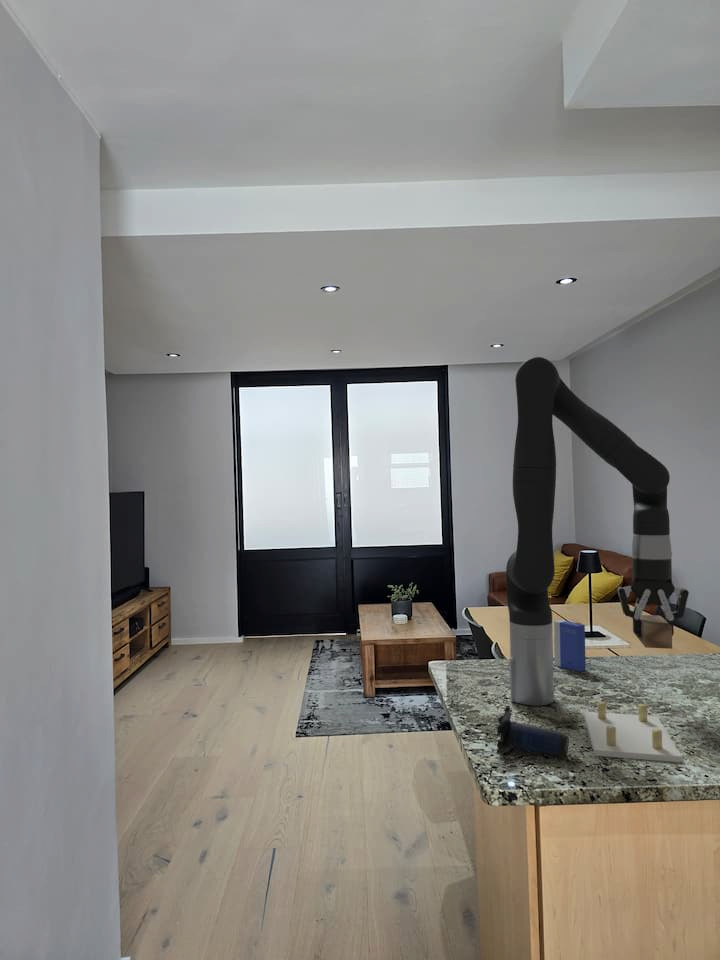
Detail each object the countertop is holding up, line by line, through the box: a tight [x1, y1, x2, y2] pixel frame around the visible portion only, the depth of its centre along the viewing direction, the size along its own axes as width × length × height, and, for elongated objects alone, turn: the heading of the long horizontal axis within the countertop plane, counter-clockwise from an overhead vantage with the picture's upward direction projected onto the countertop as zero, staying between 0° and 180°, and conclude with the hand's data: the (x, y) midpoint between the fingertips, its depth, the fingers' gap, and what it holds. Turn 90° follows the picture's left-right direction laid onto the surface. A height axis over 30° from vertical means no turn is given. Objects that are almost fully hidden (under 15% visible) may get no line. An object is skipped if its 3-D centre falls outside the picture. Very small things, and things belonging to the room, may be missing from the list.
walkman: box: [553, 619, 587, 673], centre depth 170 cm, size 8×3×12 cm, turn 32°
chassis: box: [583, 701, 683, 763], centre depth 122 cm, size 14×20×4 cm
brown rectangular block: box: [636, 614, 673, 650], centre depth 137 cm, size 5×11×4 cm, turn 166°
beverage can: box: [496, 705, 570, 760], centre depth 117 cm, size 9×8×12 cm
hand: (653, 636), depth 137 cm, fingers closed on brown rectangular block, 5 cm apart
